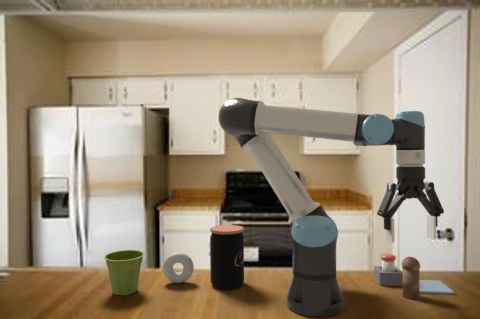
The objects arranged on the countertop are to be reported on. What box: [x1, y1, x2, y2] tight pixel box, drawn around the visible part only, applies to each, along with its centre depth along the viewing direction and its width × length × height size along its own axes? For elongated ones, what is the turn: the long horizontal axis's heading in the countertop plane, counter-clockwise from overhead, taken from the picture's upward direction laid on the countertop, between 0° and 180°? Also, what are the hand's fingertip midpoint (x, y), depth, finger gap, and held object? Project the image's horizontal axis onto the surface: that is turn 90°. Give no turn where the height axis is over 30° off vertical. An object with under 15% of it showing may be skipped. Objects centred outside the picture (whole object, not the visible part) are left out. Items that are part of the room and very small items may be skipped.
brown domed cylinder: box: [401, 256, 421, 301], centre depth 105 cm, size 5×5×11 cm
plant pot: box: [103, 249, 146, 296], centre depth 111 cm, size 12×12×11 cm
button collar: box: [373, 265, 403, 287], centre depth 118 cm, size 7×7×4 cm
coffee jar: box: [209, 224, 245, 291], centre depth 116 cm, size 11×11×18 cm
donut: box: [162, 251, 195, 284], centre depth 118 cm, size 10×4×10 cm, turn 93°
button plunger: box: [380, 253, 397, 272], centre depth 118 cm, size 4×4×7 cm
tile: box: [419, 279, 455, 295], centre depth 112 cm, size 10×10×1 cm
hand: (411, 240), depth 105 cm, fingers open, 13 cm apart
